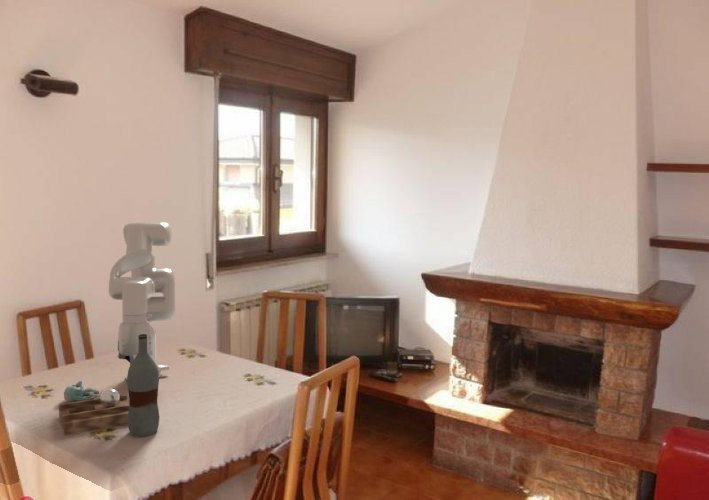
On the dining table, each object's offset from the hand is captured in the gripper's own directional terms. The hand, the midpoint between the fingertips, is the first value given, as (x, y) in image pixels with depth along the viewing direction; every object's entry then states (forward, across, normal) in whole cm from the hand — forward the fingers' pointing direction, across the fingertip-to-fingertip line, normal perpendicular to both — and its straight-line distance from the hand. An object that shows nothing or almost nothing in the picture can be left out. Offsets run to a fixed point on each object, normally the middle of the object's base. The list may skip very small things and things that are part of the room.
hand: (135, 374), depth 193 cm
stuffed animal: (+13, +14, -22) cm, 29 cm away
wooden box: (+13, +12, -1) cm, 18 cm away
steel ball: (+7, +8, -1) cm, 10 cm away
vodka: (+14, +1, +15) cm, 20 cm away
